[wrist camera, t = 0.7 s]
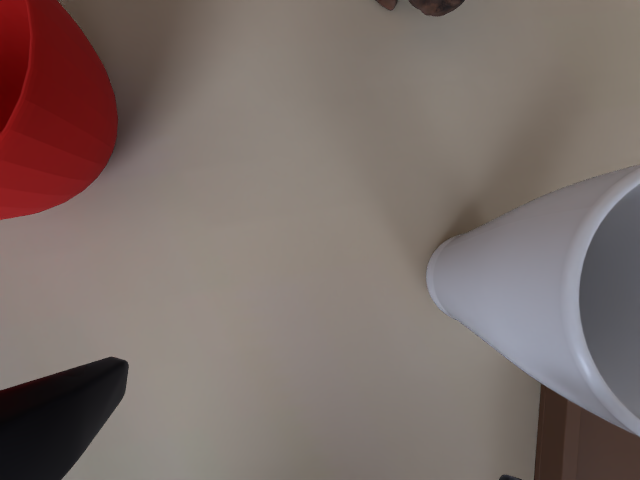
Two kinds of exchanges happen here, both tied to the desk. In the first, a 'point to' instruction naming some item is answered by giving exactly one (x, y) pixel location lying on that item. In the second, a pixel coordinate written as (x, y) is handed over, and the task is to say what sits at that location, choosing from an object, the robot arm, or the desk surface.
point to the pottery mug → (427, 5)
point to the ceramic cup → (49, 108)
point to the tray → (581, 444)
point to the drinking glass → (557, 291)
